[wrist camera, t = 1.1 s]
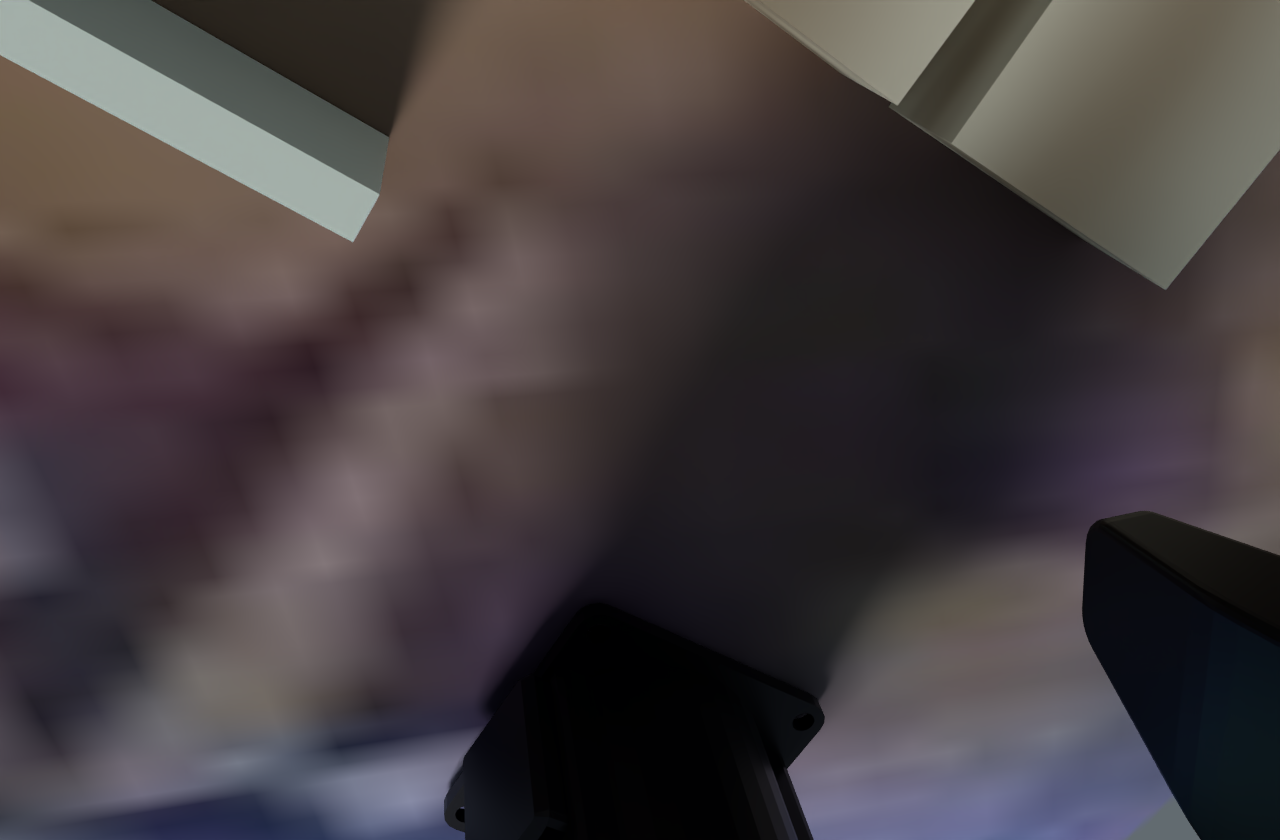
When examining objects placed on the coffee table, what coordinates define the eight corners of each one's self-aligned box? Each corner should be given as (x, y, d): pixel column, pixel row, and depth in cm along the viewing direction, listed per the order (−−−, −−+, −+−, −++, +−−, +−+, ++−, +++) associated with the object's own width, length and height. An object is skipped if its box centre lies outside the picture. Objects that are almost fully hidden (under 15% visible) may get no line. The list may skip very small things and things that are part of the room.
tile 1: (1256, 4, 20) (1378, 28, 18) (1077, 236, 22) (1165, 289, 19) (1063, -162, 19) (1167, -163, 16) (883, 104, 20) (950, 143, 17)
